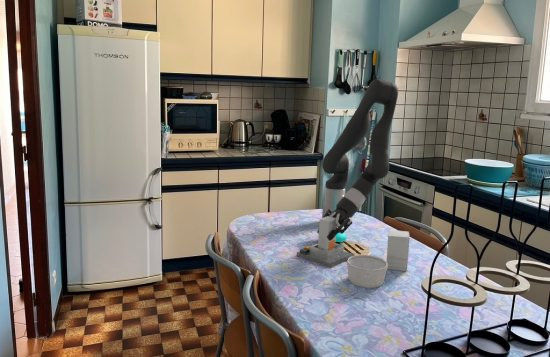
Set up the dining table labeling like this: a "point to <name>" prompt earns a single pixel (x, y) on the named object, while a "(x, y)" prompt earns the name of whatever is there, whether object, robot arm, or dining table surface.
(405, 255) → the supplement box
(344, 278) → the dining table surface
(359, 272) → the ramekin
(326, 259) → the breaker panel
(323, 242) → the skincare box
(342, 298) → the dining table surface
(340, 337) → the dining table surface
